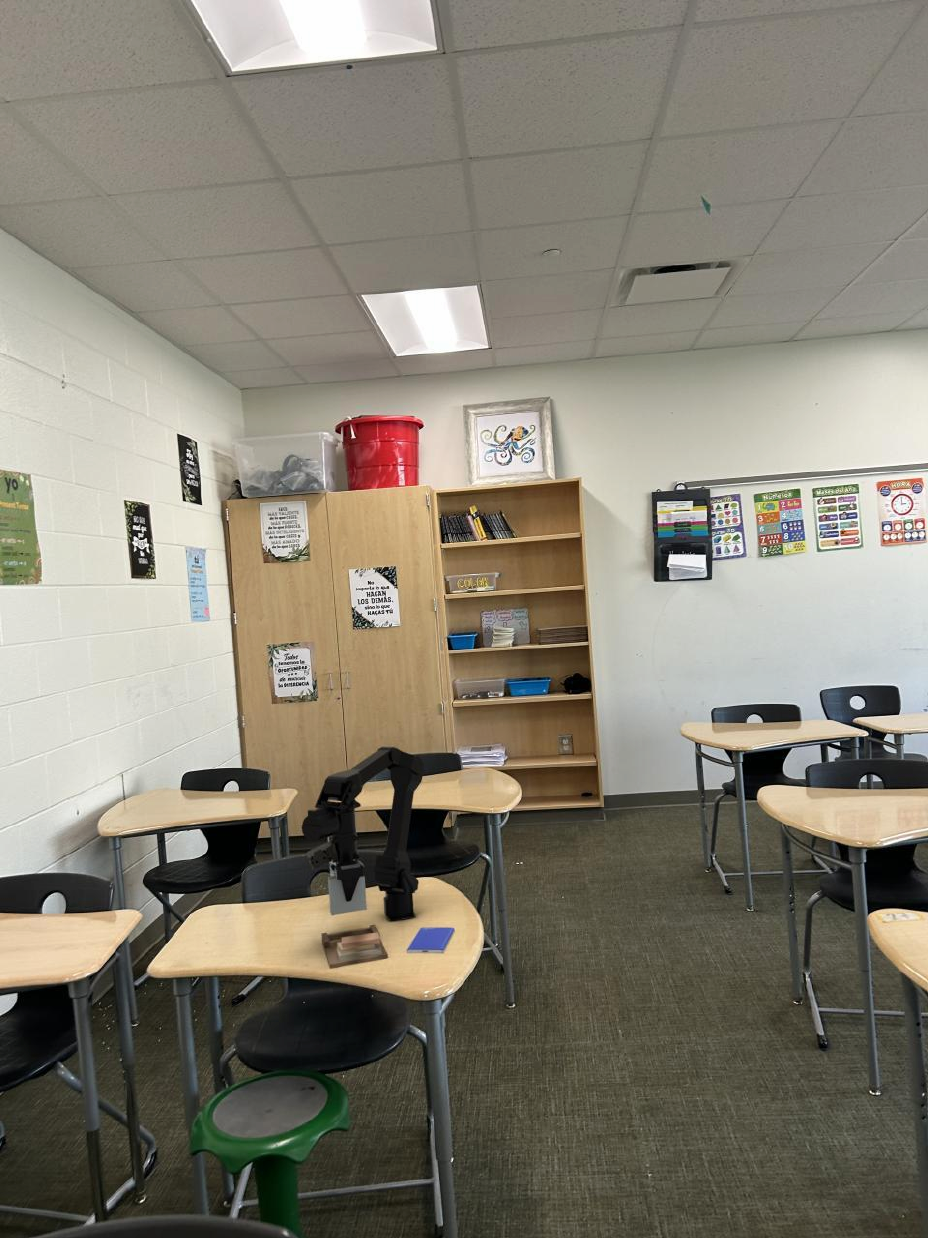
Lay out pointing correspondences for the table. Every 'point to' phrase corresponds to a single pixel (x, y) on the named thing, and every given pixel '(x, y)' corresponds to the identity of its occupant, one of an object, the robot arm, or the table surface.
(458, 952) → the table surface
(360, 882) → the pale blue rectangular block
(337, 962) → the rack
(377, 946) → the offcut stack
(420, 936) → the hard drive
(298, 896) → the table surface
